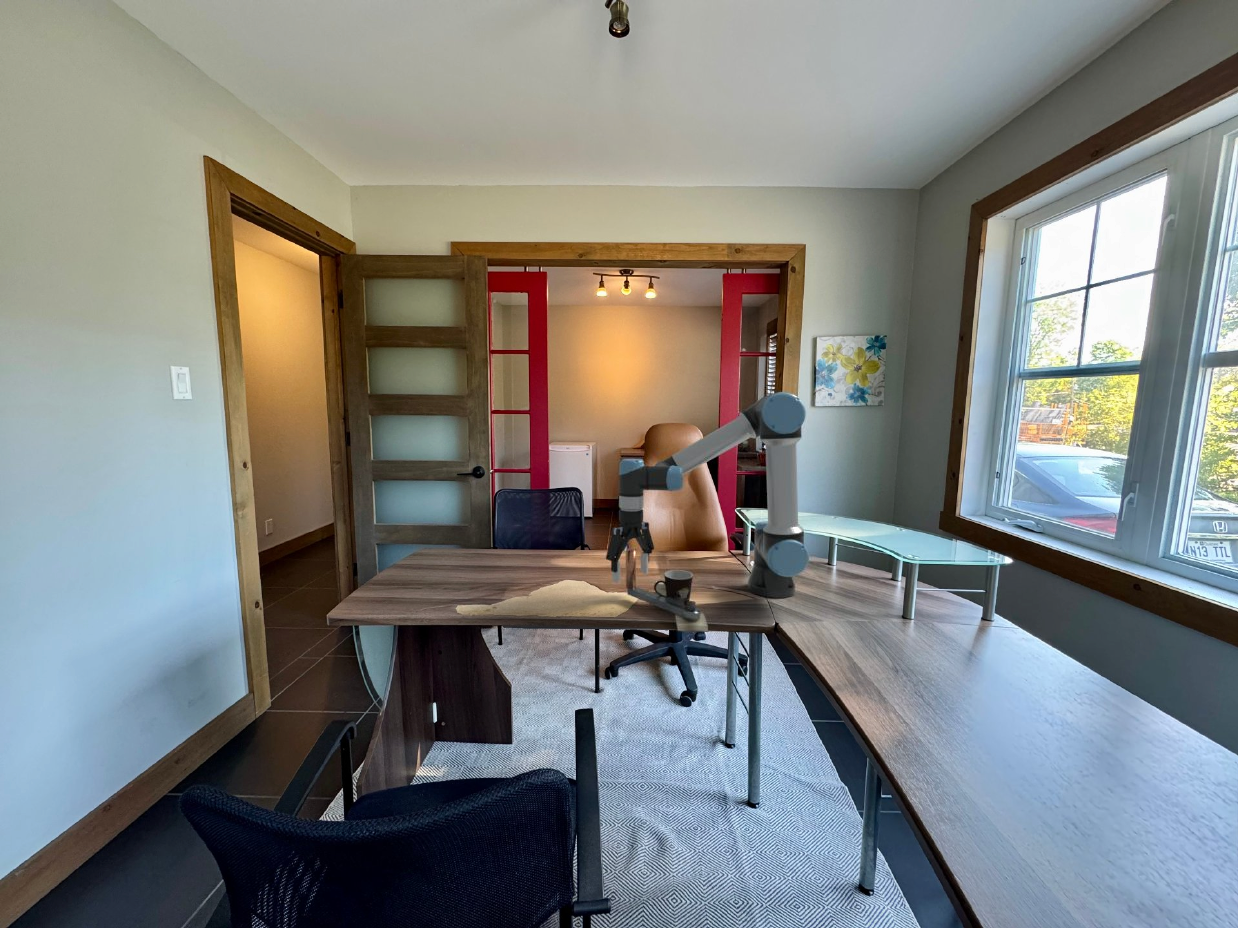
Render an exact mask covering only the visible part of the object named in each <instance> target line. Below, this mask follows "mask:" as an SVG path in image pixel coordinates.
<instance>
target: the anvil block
mask: <svg viewBox="0 0 1238 928" xmlns="http://www.w3.org/2000/svg"><path fill="white" fill-rule="evenodd" d="M657 581H658V580H656V581H655V583H656V582H657ZM655 583H654V584H655ZM656 590H657V591H658V593H660V594H662V595H663V596H665V597H667V596H666V587H665V584H664V583H658V584H657V586H656ZM654 594H656V595H658V594H657V593H656V592H654ZM659 596H660V595H659Z"/></svg>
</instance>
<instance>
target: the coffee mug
mask: <svg viewBox="0 0 1238 928" xmlns="http://www.w3.org/2000/svg"><path fill="white" fill-rule="evenodd" d="M663 576H664V577H663V578H664V580H661V579H660V580H656V581H657V582H656V583H654V586H653V590H654V591H655V592H656V593H657V594H658V595H660V596H662V597H664V598H667V596H670V595H674V596H678V597H681V598H684V605H686V606H687V602H688V601H691V600H690V598H691V591H692V585H693V577H694V574H693V573H692V572H691V571H688V570H683V569H670V570H667V571H665V572H664V575H663ZM658 583H664V584H665V587H666V596H663V595H662V594H660V593H658V591H657V590H656V586H657V584H658ZM655 592H654V593H655Z"/></svg>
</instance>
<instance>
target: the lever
mask: <svg viewBox="0 0 1238 928" xmlns="http://www.w3.org/2000/svg"><path fill="white" fill-rule="evenodd" d="M636 580H637V549H636V548H626V549H625V588H626V589H627V590H626V591H627V594H626V595H628V596H631V597H633V598H636V599H638V600H640V601H643V602H646V603H649V604H651V605H652V606H656V607H658V608H660V609H663V610H665V611H668V612H671V613H674V614H678V615H680V616H682V617H683V618H684V619H686V620H689V621H696V620H699V619H700V613H701V609H700V608H698V607H696V606H695V611H689V610H687V606H686V605H684V598H681V597H678V596H674V595H670V596H666V597H667V598H664V597H662V596H659V595H656V594H655V592H650V591H648V590H646V589H642V588H640V587H638V586H636V585H637V581H636Z"/></svg>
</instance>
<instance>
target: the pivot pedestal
mask: <svg viewBox="0 0 1238 928" xmlns="http://www.w3.org/2000/svg"><path fill="white" fill-rule="evenodd" d="M695 607H696V602H695V600H694V601H693V600H689V601H688V602H687V610H689V611H695ZM674 614H675V613H674ZM674 618H675V623H676V628H677V632H709V629H708V628H709V625H708V623H707V619H706V616H705V614H704V613H701V612H700V619H699V620H696V621H689V620H686V619H684V618H683V617H682V616H680V615H678V614H675V617H674Z"/></svg>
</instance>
